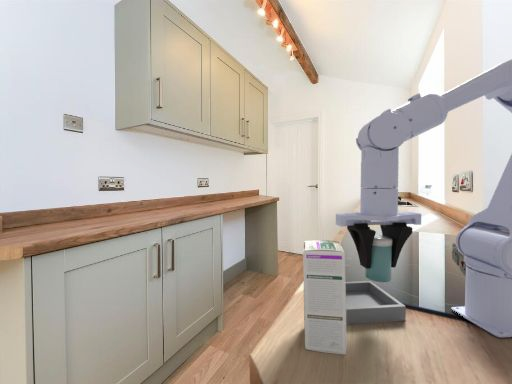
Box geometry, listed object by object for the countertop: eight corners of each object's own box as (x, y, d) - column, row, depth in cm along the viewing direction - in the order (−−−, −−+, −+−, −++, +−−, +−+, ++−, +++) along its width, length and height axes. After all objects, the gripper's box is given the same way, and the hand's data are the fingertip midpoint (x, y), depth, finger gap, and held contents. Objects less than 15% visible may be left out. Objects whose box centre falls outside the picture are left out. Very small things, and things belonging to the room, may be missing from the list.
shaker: (381, 272, 43) (381, 234, 43) (397, 281, 39) (398, 240, 39) (360, 273, 43) (360, 235, 42) (374, 283, 38) (375, 241, 38)
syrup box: (347, 356, 32) (348, 250, 31) (303, 350, 33) (303, 248, 32) (340, 330, 37) (341, 240, 37) (303, 326, 38) (303, 239, 38)
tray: (370, 292, 50) (370, 280, 50) (405, 320, 40) (405, 306, 40) (323, 294, 49) (323, 283, 49) (346, 324, 39) (346, 309, 39)
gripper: (350, 189, 36) (349, 276, 36) (437, 188, 37) (435, 272, 37) (330, 188, 43) (330, 261, 43) (404, 187, 44) (403, 258, 44)
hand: (377, 266), depth 41 cm, fingers closed on shaker, 4 cm apart
